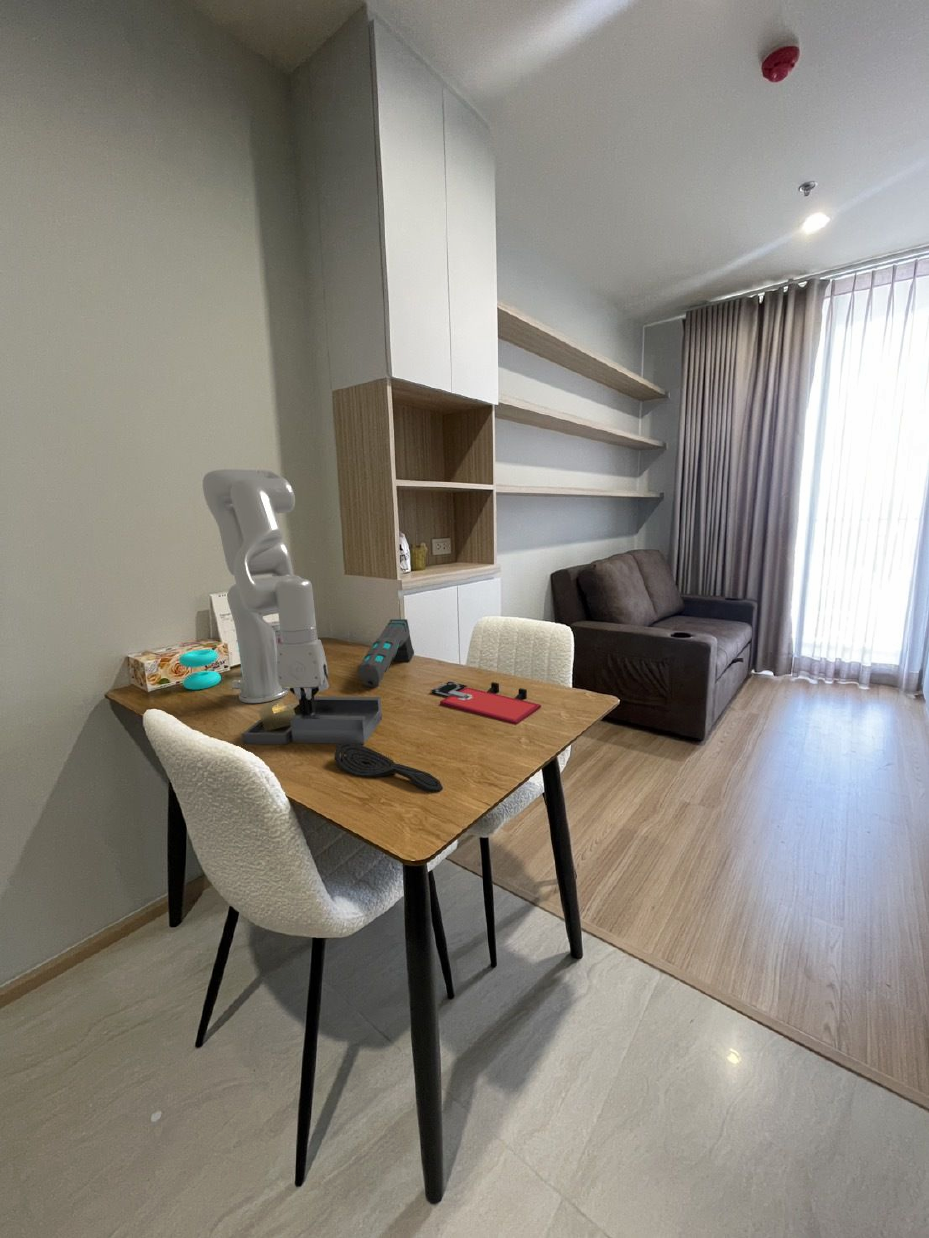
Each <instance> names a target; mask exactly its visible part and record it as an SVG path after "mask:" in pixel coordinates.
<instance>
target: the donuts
mask: <svg viewBox="0 0 929 1238" xmlns="http://www.w3.org/2000/svg"><path fill="white" fill-rule="evenodd" d="M218 656H219V655H218V653H217V651H216V650H214V649H198V650H193V651H189V652H185V653H184V654H182V655H180V657H179V658H178V659H179V664H180V665H182V666H183V667H185V668H202V667H205V666H209V665H211V664H213V663H214V662H216V661H217V659H218ZM221 680H222V677H221V674H220V673H218V672H216V671H214V670H203V671H202V670H201V671H197V672H196V671H195V672H194V673H191V674H189V675H187V676H186V677H185V678H184V680H183V683H182V684H183V687H184V688H185V689H188V690H193V691H194V690H196V691H197V690H204V689H209V688H212V687H215V686H216V685H218V684H219V683H220V682H221Z"/></svg>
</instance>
